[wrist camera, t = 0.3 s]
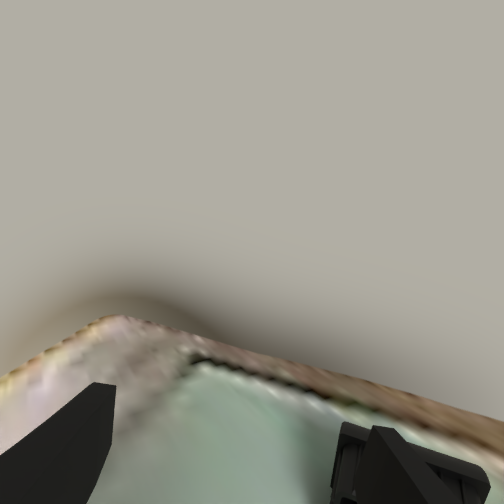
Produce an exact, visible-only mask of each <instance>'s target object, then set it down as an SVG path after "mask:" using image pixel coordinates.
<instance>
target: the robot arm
mask: <svg viewBox="0 0 504 504" xmlns="http://www.w3.org/2000/svg"><path fill="white" fill-rule="evenodd" d="M115 396H116V385H109V384H103V383H96V382H93V383H92V384H90V385H89V386H88V387H86V388H85V389H84V390H83V391H82V392H80V393H79V394H78V395H77V396H76V397H74V398H73V399H72V400H71V401H69V402H68V403H67V404H66V405H65V406H63V407H62V408H61V409H60V410H59V411H57V412H56V413H55V414H54V415H52V416H51V417H50V418H49V419H47V420H46V421H45V422H44V423H42V424H41V425H40V426H38V427H37V428H36V429H34V430H33V431H32V432H31V433H29V434H28V435H27V436H25V437H24V438H23V439H22V440H20V441H19V442H18V443H16V444H15V445H14V446H12V447H11V448H10V449H8V450H7V451H5V452H4V453H3V454H1V455H0V504H86V503H87V501H88V499H89V497H90V495H91V493H92V491H93V489H94V487H95V485H96V483H97V480H98V478H99V475H100V473H101V470H102V468H103V465H104V463H105V460H106V457H107V455H108V452H109V450H110V447H111V444H112V432H113V420H114V408H115ZM353 481H354V487H355V493H356V499H357V504H463V503H462V502H461V501H460V500H459V499H458V498H457V497H456V496H455V495H454V494H453V492H452V491H451V490H450V489H449V488H448V487H447V486H446V485H445V484H444V483H443V482H442V480H441V479H440V478H439V477H438V476H437V475H436V474H435V473H434V472H433V471H432V469H431V468H430V467H429V466H428V465H427V464H426V463H425V462H424V461H423V459H422V458H421V457H420V456H419V455H418V454H417V453H416V452H415V451H414V449H413V448H412V447H411V446H410V445H409V444H408V443H407V442H406V441H405V440H404V439H403V437H402V436H401V435H400V434H399V433H398V432H397V431H396V430H395V429H394V428H388V427H382V426H375V425H373V426H372V429H371V432H370V434H369V437H368V440H367V443H366V445H365V448H364V451H363V454H362V457H361V459H360V462H359V465H358V468H357V470H356V473H355V476H354V479H353Z"/></svg>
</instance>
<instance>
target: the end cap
mask: <svg viewBox="0 0 504 504" xmlns="http://www.w3.org/2000/svg"><path fill="white" fill-rule="evenodd" d="M370 432H371V430H370V429H367V428H364V427H361V426H358V425H355V424H352V423H349V422H343V423H342V425H341V429H340V434H339V440H338V445H337V451H336V457H335V462H334V468H333V474H332V479H331V485H330V487H331V488H332V494H331V501H330V504H357V499H356V493H355V487H354V481H353V479H354V476H355V473H356V470H357V468H358V465H359V462H360V459H361V457H362V454H363V451H364V448H365V445H366V443H367V440H368V437H369V434H370ZM407 443H408V444H409V445H410V446H411V447H412V448H413V449H414V451H415V452H416V453H417V454H418V455H419V456H420V457H421V458H422V459H423V461H424V462H425V463H426V464H427V465H428V466H429V467H430V468H431V469H432V471H433V472H434V473H435V474H436V475H437V476H438V477H439V478H440V479H441V480H442V482H443V483H444V484H445V485H446V486H447V487H448V488H449V489H450V490H451V491H452V492H453V494H454V495H455V496H456V497H457V498H458V499H459V500H460V501H461V502H462V503H463V504H484V503H485V501H486V498H487V496H488V493H489V491H490V488H491V486H490V483H489V479H488V477H487V475H486V473H485V471H484V470H483V469H482V468H481V467H480V466H478V465H475V464H472V463H469V462H466V461H463V460H460V459H457V458H454V457H451V456H448V455H445V454H442V453H439V452H436V451H433V450H430V449H427V448H424V447H421V446H418V445H415V444H412V443H409V442H407Z"/></svg>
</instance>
